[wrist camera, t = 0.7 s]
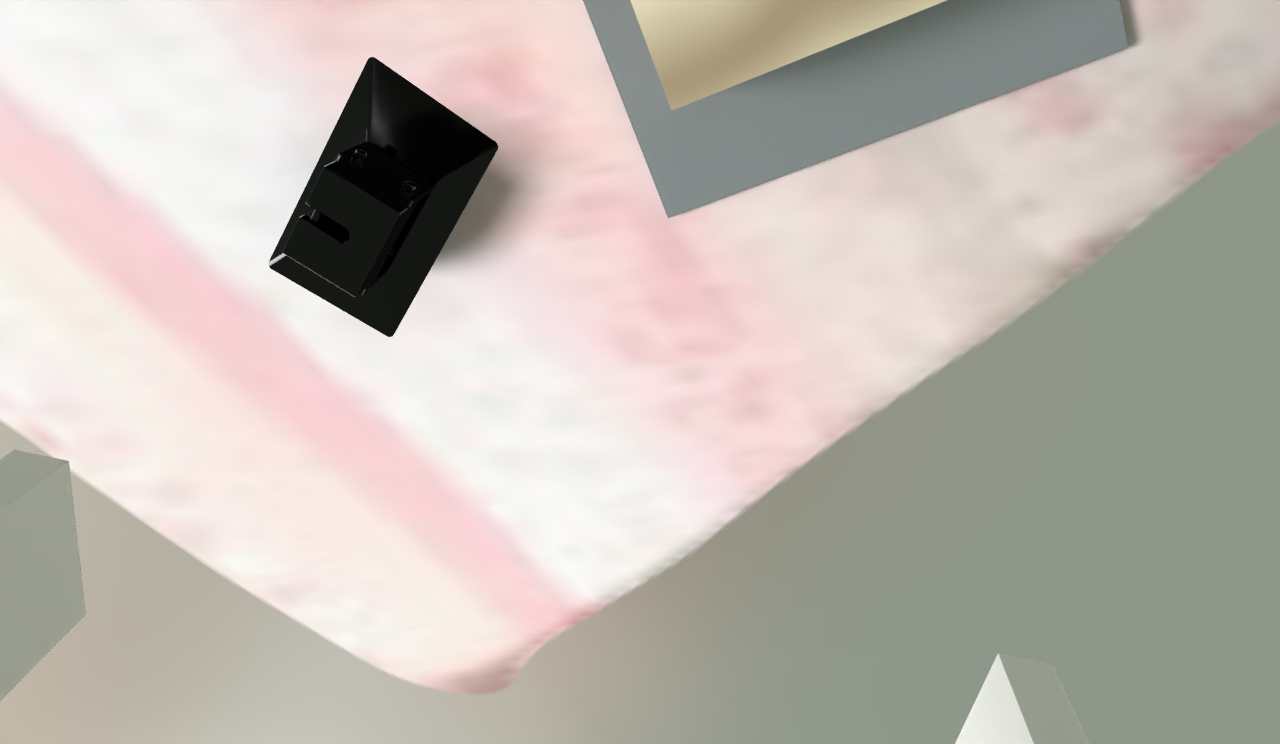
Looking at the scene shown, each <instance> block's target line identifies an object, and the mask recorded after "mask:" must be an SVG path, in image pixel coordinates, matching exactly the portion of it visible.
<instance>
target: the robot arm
mask: <svg viewBox="0 0 1280 744" xmlns="http://www.w3.org/2000/svg"><path fill="white" fill-rule="evenodd" d="M81 576H82V575H81V566H80V557H79V549H78V539H77V532H76V522H75V514H74V504H73V496H72V486H71V477H70V468H69V461H66V460H61V459H56V458H51V457H46V456H42V455H37V454H32V453H27V452H22V451H17V450H14V451H12V452H11V453H9V454H8V455H6V456H5V457H3V458H2V459H1V460H0V701H1V700H2V699H3V698H4V697H5V696H6V695H7V694H8V693H9V692H10V691H11V690H12V689H13V688H14V687H15V686H16V685H17V684H18V683H19V682H20V681H21V680H22V679H23V678H24V677H25V676H26V675H27V674H28V673H29V672H30V670H32V668H33V667H34V666H35V665H36V664H37V663H38V662H39V661H40V660H41V659H42V658H43V657H44V656H45V655H46V654H47V653H48V652H49V651H50V650H51V649H52V648H53V647H54V646H55V645H56V644H57V643H58V642H59V641H60V640H61V639H62V638H63V637H64V636H65V635H66V634H67V633H68V632H69V631H70V630H71V628H73V627H74V626H75V625H76V624H77V623H78V621H80V620H81V618H82V617H83V616H84V615H85V614H86V611H85V602H84V593H83V584H82V577H81ZM955 744H1089V742H1088V740H1087V738H1086V736H1085V734H1084V732H1083V729H1082V727H1081V725H1080V723H1079V721H1078V719H1077V716H1076V714H1075V712H1074V710H1073V708H1072V706H1071V704H1070V701H1069V699H1068V697H1067V695H1066V693H1065V691H1064V688H1063V686H1062V684H1061V682H1060V680H1059V678H1058V675H1057V673H1056V671H1055V669H1054V667H1053V665H1052V664H1047V663H1042V662H1037V661H1033V660H1028V659H1023V658H1018V657H1013V656H1008V655H1004V654H999V653H998V655H997V657H996V659H995V661H994V663H993V665H992V667H991V670H990V672H989V674H988V676H987V678H986V680H985V682H984V685H983V686H982V689H981V691H980V693H979V695H978V697H977V699H976V701H975V703H974V705H973V708H972V710H971V712H970V714H969V716H968V718H967V720H966V722H965V724H964V726H963V728H962V731H961V733H960V735H959V737H958V739H957V741H956V743H955Z"/></svg>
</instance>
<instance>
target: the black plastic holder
mask: <svg viewBox="0 0 1280 744" xmlns="http://www.w3.org/2000/svg"><path fill="white" fill-rule="evenodd" d="M497 149H498V145H497V143H496V142H495V141H493V140H492V139H491V138H489V137H488V136H486V135H485V134H483V133H482V132H481V131H479V130H478V129H476V128H475V127H473V126H472V125H471V124H469V123H468V122H466V121H465V120H463V119H462V118H460V117H459V116H458V115H456V114H455V113H453V112H452V111H450V110H449V109H448V108H446V107H445V106H443V105H442V104H440V103H439V102H438V101H436V100H435V99H433V98H432V97H430V96H429V95H427V94H426V93H425V92H423V91H422V90H420V89H419V88H417V87H416V86H415V85H413V84H412V83H410V82H409V81H407V80H406V79H405V78H403V77H402V76H400V75H399V74H397V73H396V72H394V71H393V70H392V69H390V68H389V67H387V66H386V65H384V64H383V63H382V62H380V61H379V60H377V59H376V58H374V57H370V58H369V59H368V61H367V63H366V65H365V67H364V69H363V71H362V73H361V75H360V77H359V79H358V81H357V83H356V85H355V87H354V89H353V91H352V93H351V95H350V97H349V99H348V101H347V103H346V105H345V108H344V110H343V112H342V114H341V116H340V118H339V120H338V122H337V124H336V126H335V128H334V130H333V132H332V134H331V136H330V138H329V140H328V142H327V144H326V146H325V148H324V150H323V152H322V154H321V157H320V159H319V161H318V163H317V165H316V167H315V169H314V171H313V173H312V175H311V177H310V179H309V181H308V183H307V185H306V187H305V189H304V191H303V193H302V195H301V197H300V199H299V201H298V204H297V206H296V208H295V210H294V212H293V214H292V216H291V218H290V220H289V222H288V224H287V226H286V228H285V230H284V232H283V234H282V236H281V238H280V240H279V242H278V244H277V246H276V248H275V250H274V253H273V255H272V257H271V259H270V261H269V267H270V268H271V269H273V270H274V271H276V272H278V273H279V274H281V275H283V276H285V277H286V278H288V279H290V280H291V281H293V282H295V283H297V284H298V285H300V286H302V287H304V288H305V289H307V290H309V291H310V292H312V293H314V294H316V295H317V296H319V297H321V298H322V299H324V300H326V301H328V302H329V303H331V304H333V305H334V306H336V307H338V308H340V309H341V310H343V311H345V312H347V313H348V314H350V315H352V316H353V317H355V318H357V319H359V320H360V321H362V322H364V323H365V324H367V325H369V326H371V327H372V328H374V329H376V330H377V331H379V332H381V333H383V334H384V335H386V336H388V337H391V336H393V335H394V333H395V331H396V330H397V328H398V326H399V324H400V322H401V321H402V319H403V317H404V315H405V314H406V312H407V310H408V308H409V306H410V305H411V303H412V301H413V299H414V297H415V296H416V294H417V292H418V290H419V289H420V287H421V285H422V283H423V281H424V280H425V278H426V276H427V274H428V273H429V271H430V269H431V267H432V265H433V264H434V262H435V260H436V258H437V256H438V255H439V253H440V251H441V249H442V248H443V246H444V244H445V242H446V240H447V239H448V237H449V235H450V233H451V232H452V230H453V228H454V226H455V224H456V223H457V221H458V219H459V217H460V215H461V214H462V212H463V210H464V208H465V207H466V205H467V203H468V201H469V199H470V198H471V196H472V194H473V192H474V191H475V189H476V187H477V185H478V183H479V182H480V180H481V178H482V176H483V174H484V173H485V171H486V169H487V167H488V166H489V164H490V162H491V160H492V158H493V157H494V155H495V153H496V151H497Z"/></svg>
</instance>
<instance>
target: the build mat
mask: <svg viewBox="0 0 1280 744" xmlns="http://www.w3.org/2000/svg"><path fill="white" fill-rule="evenodd" d="M583 1H584V4H585V6H586V9H587V12H588V14H589V17H590V19H591V22H592V24H593V27H594V29H595V32H596V35H597V37H598V40H599V42H600V45H601V47H602V50H603V52H604V55H605V58H606V60H607V63H608V65H609V68H610V70H611V73H612V76H613V78H614V81H615V83H616V86H617V88H618V91H619V93H620V96H621V99H622V101H623V104H624V106H625V109H626V111H627V114H628V116H629V119H630V122H631V124H632V127H633V129H634V132H635V134H636V137H637V140H638V142H639V145H640V147H641V150H642V152H643V155H644V157H645V160H646V163H647V165H648V168H649V170H650V173H651V175H652V178H653V181H654V183H655V186H656V188H657V191H658V193H659V196H660V198H661V201H662V204H663V206H664V209H665V211H666V214H667V216H668V218H670V217H673V216H675V215H678V214H681V213H683V212H686V211H689V210H691V209H694V208H697V207H700V206H702V205H705V204H708V203H710V202H713V201H716V200H718V199H721V198H724V197H726V196H729V195H732V194H735V193H737V192H740V191H743V190H745V189H748V188H751V187H753V186H756V185H759V184H762V183H764V182H767V181H770V180H772V179H775V178H778V177H780V176H783V175H786V174H788V173H791V172H794V171H797V170H799V169H802V168H805V167H807V166H810V165H813V164H815V163H818V162H821V161H824V160H826V159H829V158H832V157H834V156H837V155H840V154H842V153H845V152H848V151H851V150H853V149H856V148H859V147H861V146H864V145H867V144H869V143H872V142H875V141H877V140H880V139H883V138H886V137H888V136H891V135H894V134H896V133H899V132H902V131H904V130H907V129H910V128H913V127H915V126H918V125H921V124H923V123H926V122H929V121H931V120H934V119H937V118H939V117H942V116H945V115H948V114H950V113H953V112H956V111H958V110H961V109H964V108H966V107H969V106H972V105H975V104H977V103H980V102H983V101H985V100H988V99H991V98H993V97H996V96H999V95H1001V94H1004V93H1007V92H1010V91H1012V90H1015V89H1018V88H1020V87H1023V86H1026V85H1028V84H1031V83H1034V82H1037V81H1039V80H1042V79H1045V78H1047V77H1050V76H1053V75H1055V74H1058V73H1061V72H1064V71H1066V70H1069V69H1072V68H1074V67H1077V66H1080V65H1082V64H1085V63H1088V62H1090V61H1093V60H1096V59H1099V58H1101V57H1104V56H1107V55H1109V54H1112V53H1115V52H1117V51H1120V50H1123V49H1126V48H1128V43H1127V37H1126V32H1125V26H1124V21H1123V15H1122V10H1121V4H1120V0H947V1H944V2H942V3H939V4H937V5H934V6H932V7H929V8H927V9H924V10H922V11H919V12H917V13H914V14H912V15H909V16H907V17H904V18H902V19H899V20H897V21H894V22H892V23H889V24H887V25H884V26H882V27H879V28H877V29H874V30H872V31H869V32H867V33H864V34H862V35H859V36H857V37H854V38H852V39H849V40H847V41H844V42H842V43H839V44H837V45H834V46H832V47H829V48H827V49H824V50H822V51H819V52H817V53H814V54H812V55H810V56H807V57H805V58H802V59H800V60H797V61H795V62H792V63H790V64H787V65H785V66H782V67H780V68H777V69H775V70H772V71H770V72H767V73H765V74H762V75H760V76H757V77H755V78H752V79H750V80H747V81H745V82H742V83H740V84H737V85H735V86H732V87H730V88H727V89H725V90H722V91H720V92H717V93H715V94H712V95H710V96H707V97H705V98H702V99H700V100H697V101H695V102H692V103H690V104H687V105H685V106H682V107H680V108H677V109H675V110H672V111H671V108H670V106H669V103H668V100H667V98H666V95H665V92H664V89H663V87H662V84H661V81H660V79H659V76H658V73H657V71H656V68H655V65H654V63H653V60H652V57H651V55H650V52H649V49H648V46H647V44H646V41H645V38H644V36H643V33H642V30H641V28H640V25H639V22H638V20H637V17H636V14H635V12H634V9H633V6H632V3H631V1H630V0H583Z"/></svg>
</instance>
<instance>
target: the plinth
mask: <svg viewBox="0 0 1280 744" xmlns="http://www.w3.org/2000/svg"><path fill="white" fill-rule="evenodd" d="M630 1H631V3H632V6H633V9H634V12H635V14H636V17H637V20H638V22H639V25H640V28H641V30H642V33H643V36H644V38H645V41H646V44H647V46H648V49H649V52H650V55H651V57H652V60H653V63H654V65H655V68H656V71H657V73H658V76H659V79H660V81H661V84H662V87H663V89H664V92H665V95H666V98H667V100H668V103H669V106H670V108H671V111H672V110H675V109H677V108H680V107H682V106H685V105H687V104H690V103H692V102H695V101H697V100H700V99H702V98H705V97H707V96H710V95H712V94H715V93H717V92H720V91H722V90H725V89H727V88H730V87H732V86H735V85H737V84H740V83H742V82H745V81H747V80H750V79H752V78H755V77H757V76H760V75H762V74H765V73H767V72H770V71H772V70H775V69H777V68H780V67H782V66H785V65H787V64H790V63H792V62H795V61H797V60H800V59H802V58H805V57H807V56H810V55H812V54H814V53H817V52H819V51H822V50H824V49H827V48H829V47H832V46H834V45H837V44H839V43H842V42H844V41H847V40H849V39H852V38H854V37H857V36H859V35H862V34H864V33H867V32H869V31H872V30H874V29H877V28H879V27H882V26H884V25H887V24H889V23H892V22H894V21H897V20H899V19H902V18H904V17H907V16H909V15H912V14H914V13H917V12H919V11H922V10H924V9H927V8H929V7H932V6H934V5H937V4H939V3H942V2H944V1H947V0H630Z"/></svg>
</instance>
